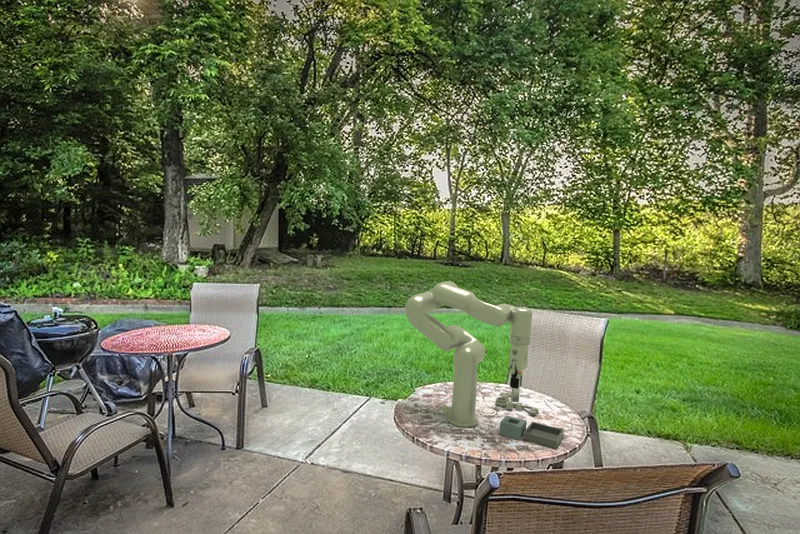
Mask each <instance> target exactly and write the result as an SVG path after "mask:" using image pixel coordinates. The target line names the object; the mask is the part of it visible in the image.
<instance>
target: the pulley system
mask: <svg viewBox="0 0 800 534" xmlns="http://www.w3.org/2000/svg"><path fill="white" fill-rule="evenodd" d="M510 398H511V392H510V393H509V392H508V393H507V392H504V391H503V392H500V393H499V397H496V398H495V401H494V405H496V406H495V407H497V406H498V407H497V408H499V407H501V408H500V409H506V410H513V409H515V411H516V412H522V411H524V412H526V413H527V414H528V415H530V416H533V417H534V416H537V414H538V413H539V407H532V406H528V405H527V406H526V405H523V403H522V402H515V403H514V402H512V401H511V400H510ZM513 405H514V406H513ZM527 409H528V410H527Z"/></svg>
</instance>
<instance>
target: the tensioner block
mask: <svg viewBox="0 0 800 534" xmlns="http://www.w3.org/2000/svg"><path fill="white" fill-rule="evenodd" d="M527 421H528V420H527V419H522V418H518V417H514V416H510V415H505V416H504V418H502V420H501V421H500V423H499V432H498V434H500V436H503V435H504V436H503V437H506V436H507V437H508V438H511V439H514V440H518V441H521V439H523V433H524V431H525V430H526V429H527Z"/></svg>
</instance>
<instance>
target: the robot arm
mask: <svg viewBox="0 0 800 534" xmlns="http://www.w3.org/2000/svg"><path fill="white" fill-rule="evenodd" d="M442 306H448V307H451V308H452V309H456V310H458V311H462V312H464V313H466V314H467V315H468V316H470V317H471V318H474V319H475V320H477V321H480V322H481V323H485V324H487V325H491V326H494V327H501V326H504V325H505V324H509V323H510V330H509V340H508V341H509V344H510V348H509V349H510V350H509V357H508V358H509V359H508V369H509V370H510V381H509V388H511V389H512V388H516V389H518V388H519V372H521V371H522V372H524V370H525V369H526V368H527V367H528V365H529V364H528V361H529V346H530V343H531V333H532V321H533V311H532V309H531V308H529V307H524V306H515V305H511V304H508V303H500V304H497V305H494V304H490V303H489V302H485V301H483V300H481V299H479V298H478V297H477V296H476V295H475V293H474V292H472V291H470V290H467V289H463V288H461V287H459V286H458V285H457V284H456V283H455V282H453V281H442V282H441V281H440V282H438V283H437V284H434V286H433V288H432V289H430V290H428V291H426V292H422V293H417V294H413V295H411V296H410V297H408V299H407V301H406V303H405V308H404V312H405V316H406V319H407V320H408V323H410V325H411V326H412V327H413V328H414V329H416V330H418V331H419V332H420V333H421V334H423V336H425V338H426V339H428V340H429V341H430V342H431V343H433V344H434V345H436V346H437V348H439V349H440V350H441V351H443V352H444V351H445V352H448V351H449V352H450V351H452V350H455V351H454V353H453V359H452V363H453V381H452V382H453V383H452V385H453V386H452V399H451V406H448V405H445V404H444V405H443V406H442V411H443V413H447V414H448V415H447V416H446V420H447V422H448V423H450V424H451V425H454V426H457V427H462V428H463V427H464V428H471V427H475V426H477V425H478V424H479V418H478V417H477V416H476V415H475V414H476V404H477V403H476V402H477V401H476V400H477V387H478V370H477V369H478V368H477V365H478V364H480V363H481V362H482V361H483V360H484V358H485V356H486V349H485V346H484V345H483V344H482V343H481V342H480V341H479V340H478V339H477V338H475V337H474V336H473V335H471V334H470V333H469V332H468V331H466V330H465V329H464V328H462V327H461V326H458V325H454V324H451V325H445V324H443V322H440V320H438V318H436V317H434V316H432V315H430V314H429V312H433V311H434V310H436V309H439V308H440V307H442ZM515 368H516V369H517V370H515ZM516 372H517V373H516ZM522 381H523V373H522V374H521V378H520V387H521V386H522Z"/></svg>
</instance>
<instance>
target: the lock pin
mask: <svg viewBox="0 0 800 534" xmlns="http://www.w3.org/2000/svg"><path fill="white" fill-rule="evenodd" d="M515 370H517V369H516V368H515ZM516 373H517V372H516ZM521 374H522V375H523V371H521V372H519V388H518V389H516V388H511V392H510V393H511V397H510V401H512V402H513V403H520V390H521V386H520V378H521Z"/></svg>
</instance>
